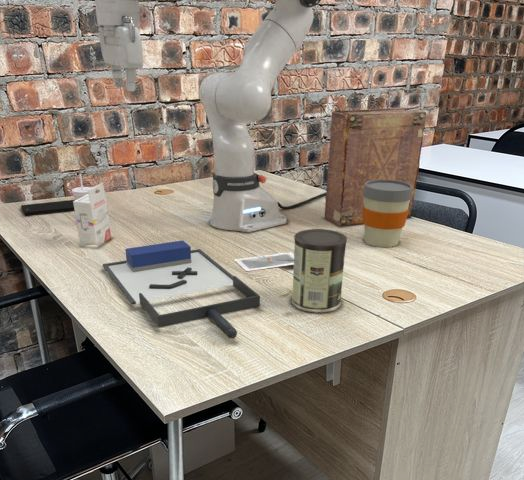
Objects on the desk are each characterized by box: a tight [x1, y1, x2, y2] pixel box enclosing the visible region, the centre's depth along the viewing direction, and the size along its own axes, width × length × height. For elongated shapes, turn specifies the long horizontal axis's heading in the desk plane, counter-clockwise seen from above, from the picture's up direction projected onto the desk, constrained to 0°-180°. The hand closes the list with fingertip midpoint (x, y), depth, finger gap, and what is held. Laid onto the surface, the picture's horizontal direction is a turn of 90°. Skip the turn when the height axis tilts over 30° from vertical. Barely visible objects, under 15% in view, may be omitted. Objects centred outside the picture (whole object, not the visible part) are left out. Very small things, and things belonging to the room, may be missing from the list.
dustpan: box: [139, 275, 261, 340], centre depth 107 cm, size 22×21×3 cm
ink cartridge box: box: [73, 182, 112, 247], centre depth 142 cm, size 9×5×15 cm, turn 168°
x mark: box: [172, 268, 197, 279], centre depth 124 cm, size 5×4×1 cm
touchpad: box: [234, 251, 294, 272], centre depth 132 cm, size 8×15×2 cm, turn 113°
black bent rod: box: [149, 280, 187, 289], centre depth 118 cm, size 8×3×1 cm, turn 113°
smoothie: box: [71, 173, 97, 200], centre depth 156 cm, size 6×6×14 cm
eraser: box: [125, 240, 192, 272], centre depth 129 cm, size 14×5×4 cm, turn 118°
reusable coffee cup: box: [362, 180, 412, 248], centre depth 147 cm, size 12×13×15 cm
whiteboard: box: [102, 248, 234, 305], centre depth 125 cm, size 24×23×2 cm
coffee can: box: [291, 228, 348, 313], centre depth 112 cm, size 10×10×14 cm
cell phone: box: [20, 199, 75, 216], centre depth 171 cm, size 9×18×1 cm, turn 117°
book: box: [323, 107, 428, 227], centre depth 161 cm, size 25×9×30 cm, turn 114°
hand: (124, 89), depth 124 cm, fingers open, 8 cm apart
